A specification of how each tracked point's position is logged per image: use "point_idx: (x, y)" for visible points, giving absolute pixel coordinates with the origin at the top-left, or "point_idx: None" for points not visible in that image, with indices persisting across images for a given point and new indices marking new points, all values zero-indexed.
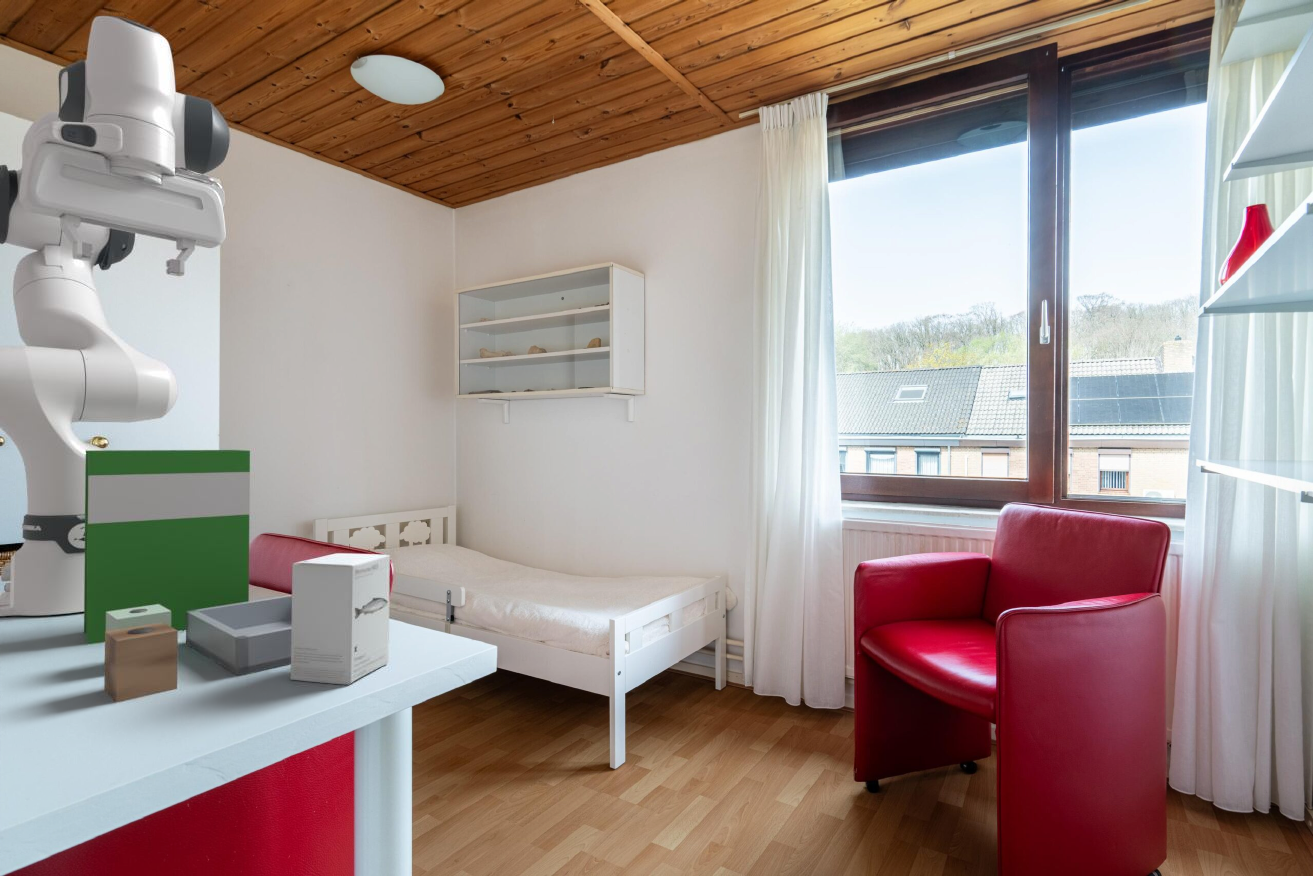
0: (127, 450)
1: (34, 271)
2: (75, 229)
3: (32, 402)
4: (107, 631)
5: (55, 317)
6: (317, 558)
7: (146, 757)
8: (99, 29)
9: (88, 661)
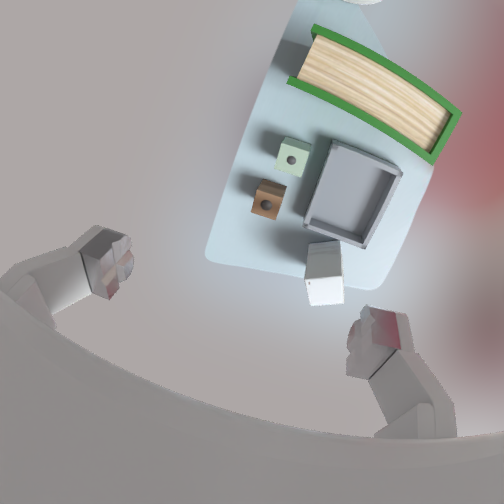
0: (352, 48)
1: None
2: (57, 311)
3: None
4: (257, 190)
5: None
6: (319, 282)
7: (237, 255)
8: None
9: (284, 122)
